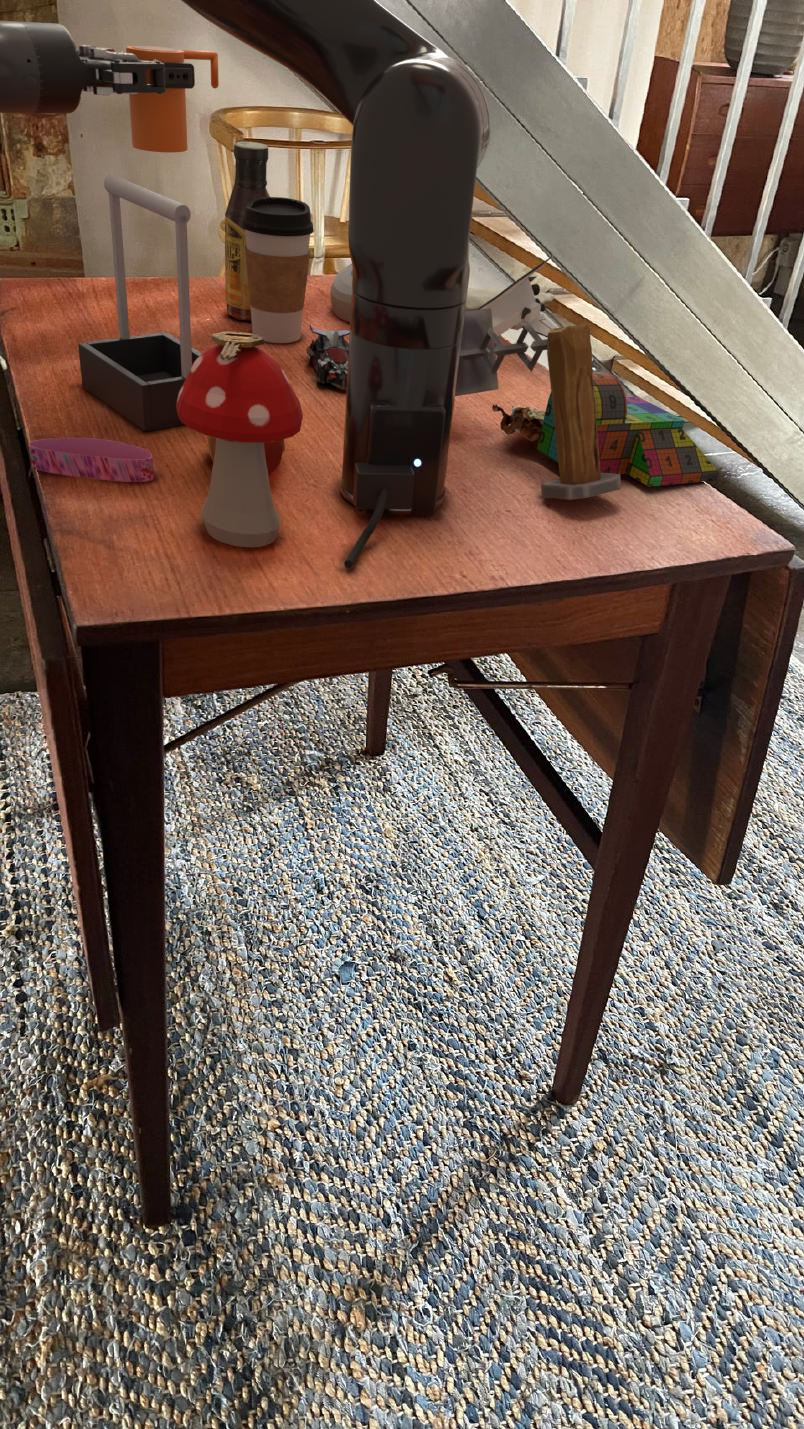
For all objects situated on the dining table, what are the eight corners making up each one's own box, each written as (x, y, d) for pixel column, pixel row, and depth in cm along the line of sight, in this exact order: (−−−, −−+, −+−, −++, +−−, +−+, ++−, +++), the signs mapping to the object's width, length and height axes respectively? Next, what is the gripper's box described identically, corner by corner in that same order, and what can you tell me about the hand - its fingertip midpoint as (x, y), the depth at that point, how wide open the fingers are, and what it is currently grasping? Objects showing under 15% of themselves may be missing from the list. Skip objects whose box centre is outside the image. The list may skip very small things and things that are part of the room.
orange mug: (148, 153, 107) (142, 50, 101) (122, 144, 110) (115, 44, 105) (232, 151, 112) (231, 54, 107) (206, 142, 116) (203, 48, 110)
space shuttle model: (457, 319, 114) (510, 393, 116) (564, 239, 127) (609, 306, 130) (383, 384, 126) (431, 450, 129) (487, 305, 140) (530, 365, 142)
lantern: (380, 492, 112) (572, 501, 89) (358, 328, 107) (557, 291, 83) (436, 480, 116) (634, 485, 92) (417, 321, 111) (623, 284, 87)
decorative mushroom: (157, 532, 82) (145, 341, 73) (225, 497, 88) (222, 318, 79) (257, 571, 78) (258, 375, 69) (321, 532, 84) (329, 347, 75)
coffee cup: (315, 330, 130) (320, 201, 121) (304, 350, 123) (307, 214, 114) (250, 323, 130) (250, 193, 121) (235, 342, 123) (233, 206, 115)
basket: (234, 415, 104) (231, 202, 92) (144, 431, 99) (129, 207, 87) (168, 373, 112) (158, 173, 101) (82, 386, 107) (60, 176, 95)
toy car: (353, 359, 122) (355, 324, 120) (371, 394, 113) (373, 356, 110) (303, 358, 121) (304, 322, 118) (316, 393, 111) (317, 355, 109)
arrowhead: (376, 277, 143) (540, 271, 149) (375, 302, 145) (537, 296, 151) (401, 304, 134) (575, 297, 140) (400, 331, 136) (571, 323, 142)
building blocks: (602, 490, 94) (627, 399, 89) (536, 450, 100) (556, 362, 96) (716, 480, 101) (745, 395, 96) (647, 443, 108) (671, 361, 103)
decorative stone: (494, 289, 134) (490, 250, 130) (373, 338, 129) (365, 298, 125) (423, 259, 146) (417, 222, 143) (310, 302, 141) (301, 265, 138)
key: (200, 358, 68) (200, 352, 68) (214, 335, 75) (214, 330, 75) (257, 362, 69) (257, 356, 68) (265, 339, 76) (265, 334, 75)
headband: (40, 430, 91) (43, 454, 92) (23, 446, 88) (26, 470, 89) (160, 446, 91) (161, 469, 92) (147, 462, 88) (148, 486, 89)
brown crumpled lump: (522, 388, 110) (539, 443, 112) (480, 409, 101) (500, 469, 102) (581, 368, 106) (598, 425, 108) (544, 387, 97) (562, 450, 99)
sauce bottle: (221, 309, 134) (218, 137, 122) (268, 309, 136) (270, 140, 124) (230, 324, 129) (228, 146, 117) (279, 324, 131) (281, 149, 119)
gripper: (46, 28, 92) (211, 36, 101) (-14, 15, 100) (143, 23, 109) (56, 124, 96) (213, 123, 105) (-2, 103, 105) (148, 104, 114)
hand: (177, 72), depth 107 cm, fingers closed on orange mug, 5 cm apart
